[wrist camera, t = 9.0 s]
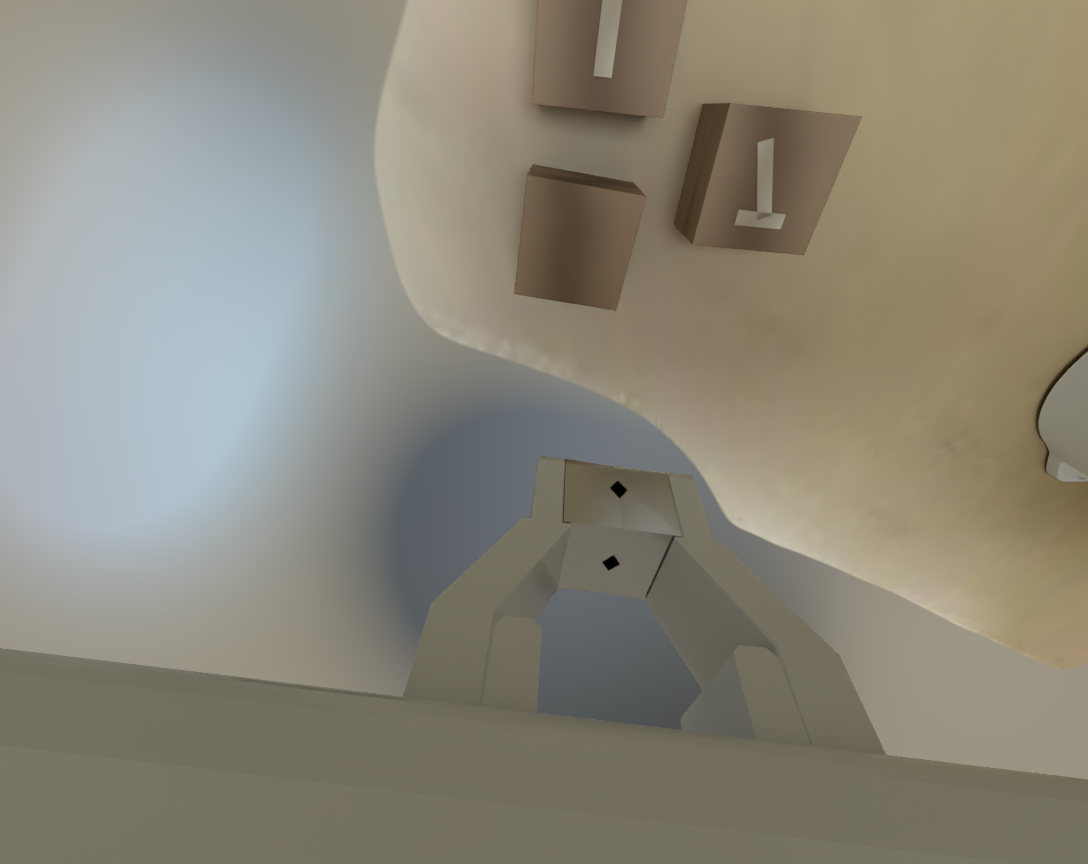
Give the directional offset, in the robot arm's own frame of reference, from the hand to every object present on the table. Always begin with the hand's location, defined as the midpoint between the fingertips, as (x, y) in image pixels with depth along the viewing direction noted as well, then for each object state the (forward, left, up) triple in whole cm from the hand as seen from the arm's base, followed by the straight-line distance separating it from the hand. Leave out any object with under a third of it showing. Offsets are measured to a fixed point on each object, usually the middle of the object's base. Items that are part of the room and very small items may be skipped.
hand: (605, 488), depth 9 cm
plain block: (0, 0, -23) cm, 23 cm away
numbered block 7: (-9, -4, -23) cm, 25 cm away
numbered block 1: (0, -9, -23) cm, 25 cm away
